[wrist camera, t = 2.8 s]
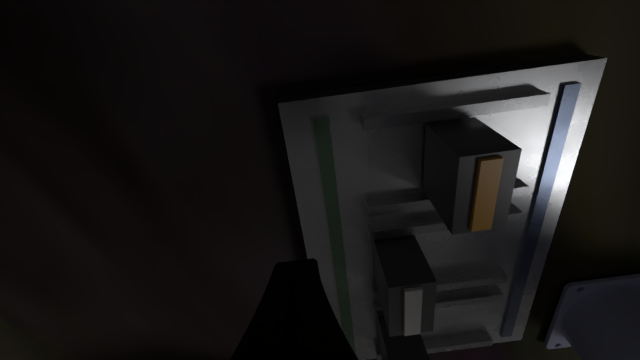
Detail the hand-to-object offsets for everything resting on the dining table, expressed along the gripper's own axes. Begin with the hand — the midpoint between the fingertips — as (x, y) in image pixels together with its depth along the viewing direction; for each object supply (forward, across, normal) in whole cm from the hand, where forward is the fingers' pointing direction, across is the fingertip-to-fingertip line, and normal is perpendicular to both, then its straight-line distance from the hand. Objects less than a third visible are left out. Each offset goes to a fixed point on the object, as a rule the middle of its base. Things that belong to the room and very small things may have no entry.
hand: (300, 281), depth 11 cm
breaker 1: (+7, -5, +7) cm, 11 cm away
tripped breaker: (+8, -8, 0) cm, 11 cm away
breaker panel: (+9, -8, +7) cm, 14 cm away
